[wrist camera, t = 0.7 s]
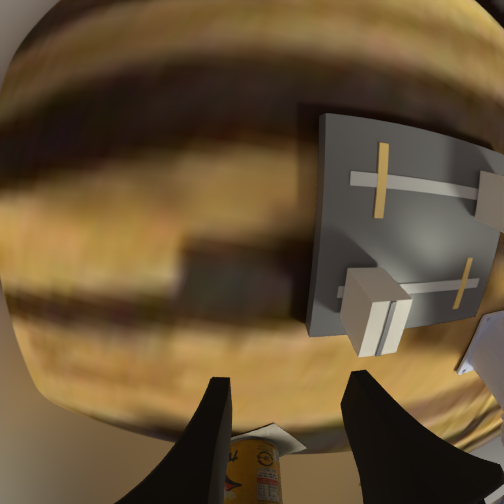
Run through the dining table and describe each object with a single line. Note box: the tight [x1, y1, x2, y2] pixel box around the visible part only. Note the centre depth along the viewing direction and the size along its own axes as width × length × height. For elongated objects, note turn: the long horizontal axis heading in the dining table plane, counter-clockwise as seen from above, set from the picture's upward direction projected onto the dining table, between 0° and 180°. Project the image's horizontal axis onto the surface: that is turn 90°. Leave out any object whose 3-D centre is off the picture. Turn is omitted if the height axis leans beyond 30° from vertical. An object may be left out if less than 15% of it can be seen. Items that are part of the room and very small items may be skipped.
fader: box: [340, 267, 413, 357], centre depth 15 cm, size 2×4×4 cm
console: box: [305, 113, 504, 337], centre depth 16 cm, size 16×14×2 cm
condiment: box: [224, 424, 306, 504], centre depth 20 cm, size 7×8×12 cm
